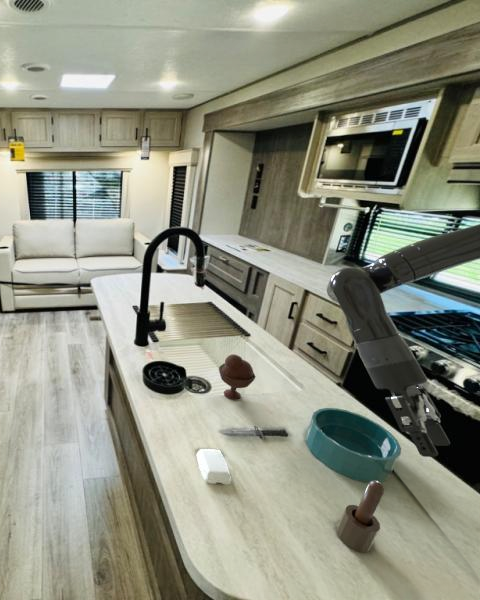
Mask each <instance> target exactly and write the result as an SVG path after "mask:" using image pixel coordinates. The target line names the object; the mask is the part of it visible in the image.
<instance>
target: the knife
mask: <svg viewBox="0 0 480 600" xmlns="http://www.w3.org/2000/svg"><path fill="white" fill-rule="evenodd" d="M253 428H254V429H234V430H229V431H222V432H221V434H222V435H226V436H229V437H259V439H260V440H262V441H263V442H264V441H265V440H266V438H265V437H285V438H287V437H289V433H288V432H287V430H286V429H285V428H282V429H281V428H280V429H260V428H258V426H257V425H254V427H253Z"/></svg>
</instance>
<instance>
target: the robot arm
mask: <svg viewBox="0 0 480 600" xmlns="http://www.w3.org/2000/svg"><path fill="white" fill-rule="evenodd" d="M478 260H480V223H478V224H475V225H472V226H469V227H465V228H464V227H463V228H460V229H457V230H453V231H448V232H445V233H442V234H438V235H434V236H430V237H428V238H424V239H422V240H418V241H416V242H413V243H410V244H407V245H405V246H403V247H400V248H398V249H395V250H393V251H390V252H388V253H386V254H384V255H381V256H380V257H378V258H377V259H376V260H374V261H373V262H371V263H369V264H367V265H364V266H361V267H356V266H355V267H354V266H348V267H347V266H346V267H344V268H342V269H339V270H337V271H336V272H334V274H333V275H332V276H331V277H330V278H329V281H328V283H327V286H326V294H327V296H328V298H329V299H330V300H331V301H332V302H334V303H335V304H339V307H340V309H341V311H342V312H343V314H344V316H345V325H346V328H347V330H348V332H349V334H350V336H351V338H352V340H353V342H354V344H355V346H356V349H357V352H358V355H359V357H360V359H361V361H362V363H363V365H364V367H365V369H366V371H367V373H368V375H369V377H370V379H371V381H372V383H373V385H374V386H375V388H376V389H377V390H389V392H390V394H391V396H386V397H385V402H386V403H387V405H388V408H389V409H390V411H391V413H392V415H393V417H394V419H395V421H396V424H397V426H398V427H399V430H400V431H401V432H402V433H406V434H407V435H409V436H410V438H411V440H412V442H413V444H414V446H415V448H416V450H417V452H418V453H419V455H420V456H421V457H424V458H436V457H438V455H439V452H438V450H437V448H436V447H445V446H446V447H447V446H449V445H450V444H451V442H450V439H449V438H448V436H447V434H446V432H445V431H444V429H443V427H442V425H441V424H440V423H441V419H440V418H441V417H442V416H441V415H442V414H441V413H440V412H439V410H438V408H437V407H436V405H435V403H434V402H433V399H432V398H431V397H430V394H429V393H428V391H427V389H426V387H425V386H418V385H422V384H425V383H427V382H428V378H427V376H426V374H425V373H424V370H423V369H422V367H421V365H420V364H419V362H418V359H416V357H415V355H414V353H413V351H412V350H411V348H410V346H409V344H408V343H407V342H406V341H405V339H404V338H403V337H402V334H400V331H399V330H398V328H397V326H396V325H395V323H394V321H393V320H392V318H391V317H390V315H389V313H388V312H387V310H386V307H385V303H384V299H383V298H382V295H381V294H383V293H385V292H388V291H390V290H392V289H394V288H398V287H400V286H405V285H408V284H411V283H413V282H416V281H420V280H423V279H425V278H428V277H431V276H433V275H436V274H439V273H442V272H445V271H447V270H451V269H453V268H456V267H460V266H462V265H465V264H468V263H472V262H475V261H478Z"/></svg>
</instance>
